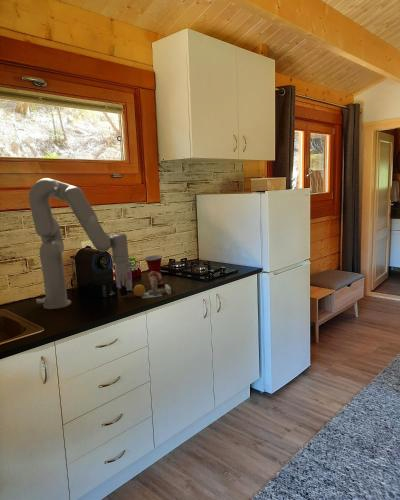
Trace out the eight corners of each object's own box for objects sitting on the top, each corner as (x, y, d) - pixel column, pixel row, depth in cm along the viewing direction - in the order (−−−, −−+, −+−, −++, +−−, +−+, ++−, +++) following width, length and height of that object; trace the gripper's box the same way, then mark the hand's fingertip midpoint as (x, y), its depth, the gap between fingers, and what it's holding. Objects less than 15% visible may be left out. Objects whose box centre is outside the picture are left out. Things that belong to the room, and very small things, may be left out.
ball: (146, 285, 189) (145, 297, 189) (144, 283, 194) (144, 294, 195) (134, 285, 187) (133, 297, 188) (133, 283, 193) (132, 294, 194)
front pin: (148, 291, 191) (165, 289, 193) (148, 290, 194) (164, 288, 196) (149, 295, 192) (165, 293, 194) (148, 294, 194) (165, 292, 196)
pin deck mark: (142, 298, 187) (142, 298, 187) (140, 293, 197) (140, 293, 197) (162, 296, 189) (162, 295, 189) (159, 291, 199) (159, 290, 199)
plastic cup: (142, 276, 235) (140, 257, 233) (154, 273, 244) (153, 254, 242) (155, 278, 229) (153, 258, 227) (167, 274, 237) (165, 255, 235)
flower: (141, 283, 210) (145, 273, 206) (150, 276, 217) (154, 266, 213) (155, 294, 208) (159, 283, 204) (163, 286, 216) (168, 276, 211)
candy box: (133, 290, 203) (131, 260, 201) (122, 292, 201) (120, 261, 198) (126, 285, 216) (124, 256, 213) (116, 286, 213) (113, 258, 211)
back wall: (168, 294, 192) (167, 288, 192) (165, 290, 201) (164, 284, 200) (171, 294, 193) (170, 288, 192) (168, 289, 201) (167, 284, 201)
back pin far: (151, 294, 194) (150, 277, 193) (151, 292, 197) (150, 276, 195) (156, 293, 195) (155, 277, 194) (155, 292, 197) (154, 276, 196)
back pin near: (153, 296, 190) (152, 279, 188) (152, 295, 192) (151, 278, 191) (158, 296, 190) (156, 279, 189) (157, 294, 193) (156, 278, 191)
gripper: (112, 257, 193) (115, 292, 196) (113, 262, 179) (116, 300, 181) (127, 255, 195) (130, 290, 198) (129, 260, 180) (132, 298, 183)
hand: (123, 295), depth 189 cm, fingers closed
